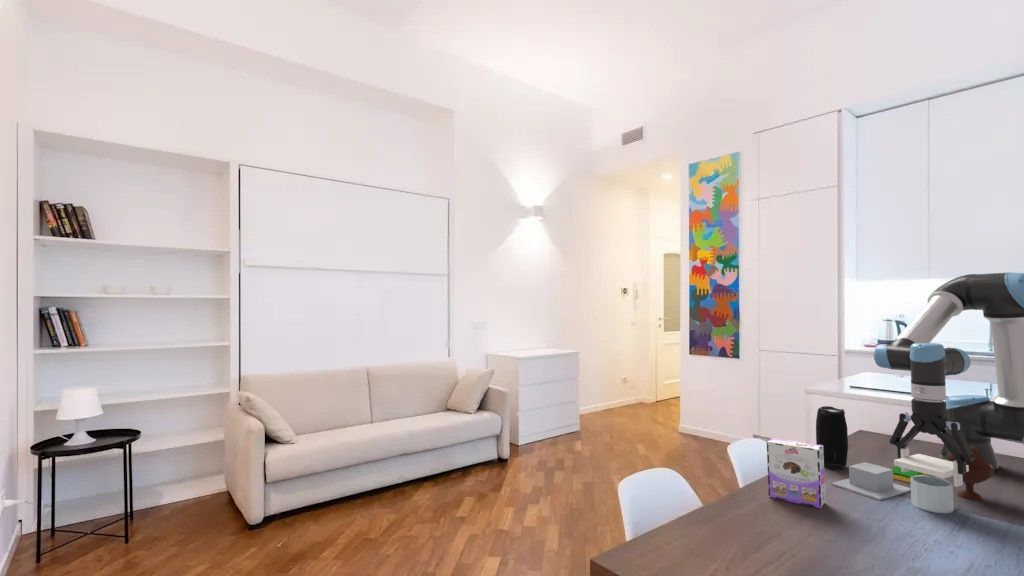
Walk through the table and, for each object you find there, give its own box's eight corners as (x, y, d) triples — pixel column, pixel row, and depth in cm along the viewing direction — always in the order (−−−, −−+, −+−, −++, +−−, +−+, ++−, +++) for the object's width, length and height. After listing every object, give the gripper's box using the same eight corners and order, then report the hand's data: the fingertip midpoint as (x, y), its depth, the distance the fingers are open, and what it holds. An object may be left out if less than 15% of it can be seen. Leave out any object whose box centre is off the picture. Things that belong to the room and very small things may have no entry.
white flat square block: (918, 458, 152) (918, 453, 152) (968, 471, 141) (968, 465, 141) (893, 465, 147) (893, 459, 147) (943, 478, 136) (943, 472, 136)
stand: (864, 476, 168) (863, 457, 168) (912, 490, 155) (911, 470, 155) (831, 484, 161) (831, 465, 161) (879, 500, 149) (878, 479, 149)
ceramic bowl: (922, 498, 150) (922, 473, 150) (960, 509, 142) (959, 483, 142) (904, 503, 146) (903, 478, 146) (941, 515, 138) (940, 489, 138)
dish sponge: (930, 475, 169) (930, 468, 169) (912, 484, 161) (912, 476, 161) (904, 469, 175) (904, 462, 175) (886, 478, 167) (885, 470, 167)
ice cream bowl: (1005, 505, 144) (1004, 450, 144) (959, 502, 146) (957, 448, 146) (979, 490, 154) (978, 439, 154) (936, 488, 156) (934, 438, 156)
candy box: (826, 503, 148) (824, 444, 148) (821, 509, 143) (819, 449, 144) (773, 491, 157) (772, 436, 157) (767, 497, 153) (766, 440, 153)
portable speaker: (820, 460, 185) (818, 404, 185) (851, 465, 178) (849, 408, 179) (813, 466, 178) (812, 408, 179) (845, 472, 172) (844, 412, 172)
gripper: (874, 393, 154) (876, 467, 153) (974, 409, 132) (977, 495, 131) (889, 391, 157) (891, 463, 156) (990, 406, 135) (993, 490, 134)
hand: (930, 478), depth 144 cm, fingers closed on white flat square block, 12 cm apart
